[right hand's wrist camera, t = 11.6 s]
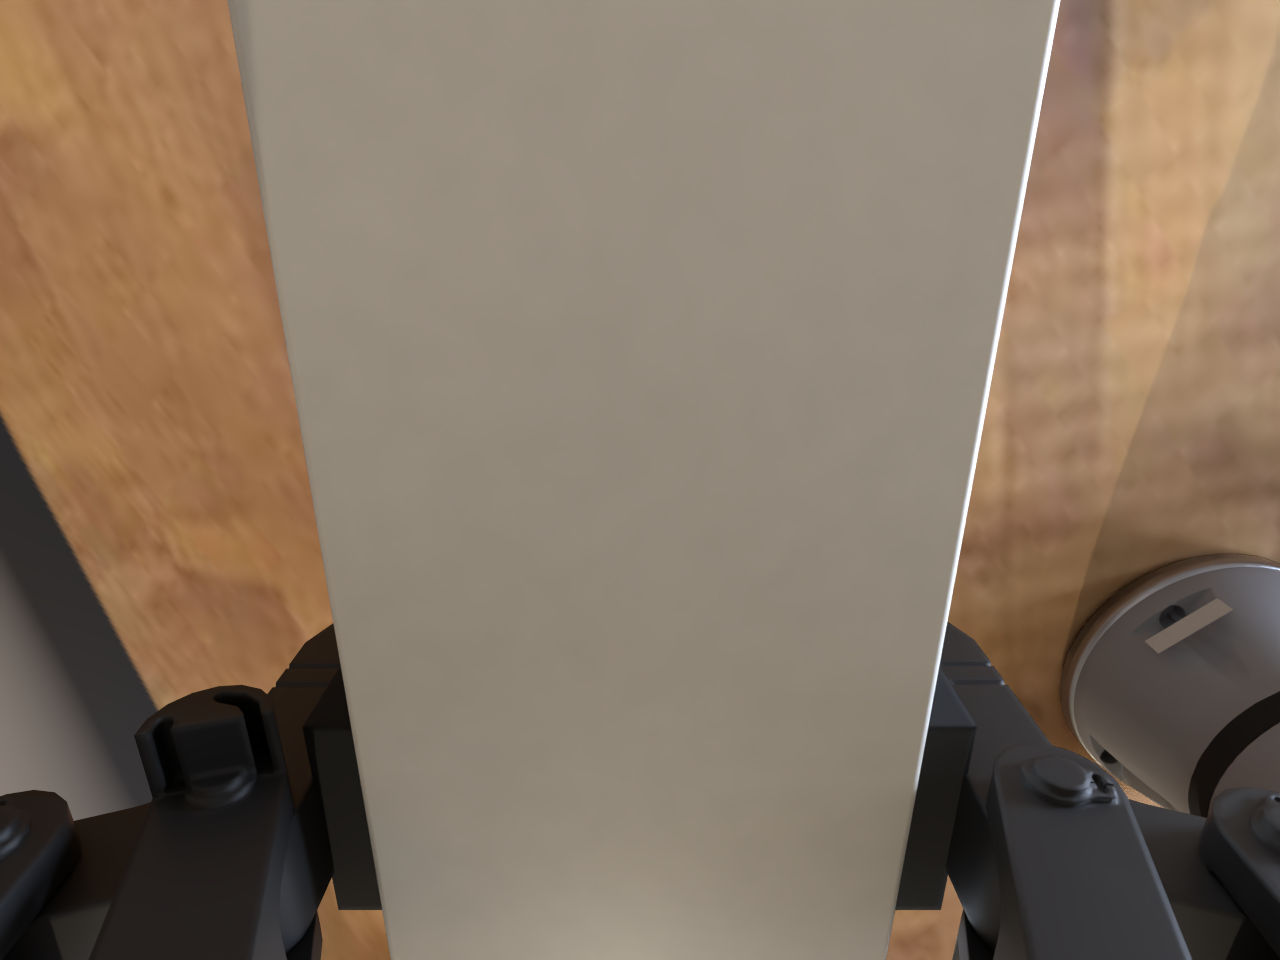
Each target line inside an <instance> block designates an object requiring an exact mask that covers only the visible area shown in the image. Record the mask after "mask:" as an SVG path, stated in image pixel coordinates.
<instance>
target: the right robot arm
mask: <svg viewBox="0 0 1280 960" xmlns="http://www.w3.org/2000/svg"><path fill="white" fill-rule="evenodd" d="M1060 700H1061V706H1062V711H1063V714H1064V717H1065V720H1066V722H1067V724H1068V726H1069V728H1070V729H1071V731H1072V733H1073V734H1074V735H1075V737H1076V738H1077V739H1078V740H1079V742H1080V743H1081V744H1082V746H1083V747H1084V748H1085V749H1086V751H1087V752H1088V753H1089V754H1090V755H1091V756H1092V758H1093V759H1095V760H1096V761H1097V762H1098V763H1099V764H1100V765H1101V766H1103V767H1104V768H1105V769H1106V770H1107V771H1108V772H1110V773H1111V774H1112V775H1114V776H1115V777H1117V778H1118V779H1120V780H1121V781H1123V782H1124V783H1126V784H1127V785H1129V786H1130V787H1132V788H1134V789H1135V790H1137V791H1138V792H1140V793H1141V794H1143V795H1145V796H1146V797H1148V798H1149V799H1151V800H1152V801H1154V802H1156V803H1157V804H1159V805H1160V806H1162V807H1163V808H1160V807H1156V806H1151V805H1147V804H1143V803H1140V802H1137V801H1133V800H1130V799H1128V798H1127V796H1126V794H1125V793H1124V791H1123V790H1122V788H1121V787H1120V785H1119V784H1118V782H1117V781H1116V780H1115V779H1114V778H1113V777H1112V776H1111V775H1109V774H1108V773H1107V772H1106V771H1104V770H1103V769H1102V768H1101V767H1100V766H1098V765H1097V764H1096V763H1094V762H1092V761H1090V760H1088V759H1086V758H1084V757H1082V756H1080V755H1078V754H1076V753H1074V752H1072V751H1069V750H1066V749H1062V748H1059V747H1055V746H1052V744H1051V743H1050V742H1049V740H1048V739H1047V738H1046V736H1045V735H1044V734H1043V732H1042V731H1041V730H1040V728H1039V727H1038V725H1037V724H1036V723H1035V721H1034V720H1033V719H1032V717H1031V716H1030V715H1029V713H1028V712H1027V711H1026V709H1025V708H1024V707H1023V705H1022V704H1021V703H1020V701H1019V700H1018V698H1017V697H1016V696H1015V694H1014V693H1013V692H1012V690H1011V689H1010V688H1009V686H1008V685H1004V680H1003V678H1002V677H1001V675H1000V674H999V673H998V671H997V670H996V669H995V667H994V666H991V664H990V661H989V659H988V658H987V657H986V655H985V654H984V652H983V651H982V650H981V648H980V647H979V646H978V644H977V643H976V642H975V640H973V639H972V638H971V637H969V636H968V635H966V634H965V633H963V632H962V631H960V630H959V629H957V628H956V627H955V626H953V625H952V624H950V623H949V622H947V626H946V632H945V637H944V643H943V648H942V654H941V659H940V665H939V670H938V676H937V681H936V687H935V692H934V698H933V703H932V709H931V714H930V720H929V725H928V731H927V736H926V742H925V747H924V753H923V758H922V764H921V769H920V775H919V780H918V786H917V791H916V797H915V802H914V808H913V813H912V819H911V825H910V830H909V836H908V841H907V847H906V852H905V858H904V863H903V869H902V874H901V880H900V885H899V891H898V896H897V902H896V907H895V910H941V906H942V901H943V896H944V891H945V886H946V881H947V876H948V875H949V877H950V880H951V882H952V884H953V886H954V888H955V891H956V893H957V895H958V897H959V900H960V902H961V904H962V906H963V912H962V917H961V922H960V926H959V931H958V936H957V940H956V945H955V950H954V954H953V959H952V960H1280V564H1279V563H1276V562H1274V561H1271V560H1268V559H1265V558H1261V557H1257V556H1251V555H1244V554H1214V555H1206V556H1200V557H1195V558H1190V559H1186V560H1183V561H1179V562H1176V563H1173V564H1170V565H1167V566H1165V567H1162V568H1160V569H1157V570H1155V571H1153V572H1151V573H1149V574H1147V575H1145V576H1143V577H1141V578H1139V579H1138V580H1136V581H1134V582H1133V583H1131V584H1130V585H1128V586H1126V587H1125V588H1123V589H1122V590H1121V591H1119V592H1118V593H1117V594H1115V595H1114V596H1113V597H1112V598H1110V599H1109V600H1108V601H1107V602H1106V603H1105V604H1104V605H1103V606H1101V607H1100V609H1099V610H1098V611H1097V612H1096V613H1095V614H1094V615H1093V616H1092V617H1091V618H1090V619H1089V621H1088V622H1087V623H1086V624H1085V626H1084V627H1083V628H1082V630H1081V631H1080V633H1079V634H1078V636H1077V637H1076V639H1075V641H1074V643H1073V644H1072V646H1071V648H1070V651H1069V653H1068V655H1067V657H1066V660H1065V664H1064V667H1063V671H1062V676H1061V683H1060ZM134 736H135V740H136V743H137V747H138V750H139V753H140V757H141V760H142V763H143V767H144V770H145V773H146V777H147V780H148V783H149V786H150V790H151V793H152V797H153V799H152V801H151V803H147V804H144V805H140V806H137V807H134V808H129V809H125V810H120V811H116V812H112V813H107V814H103V815H98V816H94V817H90V818H85V819H81V820H76V821H73V818H72V815H71V813H70V810H69V807H68V804H67V802H66V801H65V800H64V799H63V798H61V797H60V796H59V795H57V794H56V793H55V792H46V791H38V790H31V791H24V792H18V793H12V794H6V795H3V796H0V960H321V949H322V934H321V927H320V922H319V917H318V912H317V909H318V907H319V904H320V902H321V900H322V898H323V896H324V893H325V891H326V889H327V887H328V884H329V882H330V880H331V878H332V879H333V884H334V889H335V894H336V899H337V904H338V909H339V910H382V905H381V899H380V893H379V887H378V882H377V876H376V870H375V864H374V858H373V852H372V846H371V840H370V834H369V829H368V823H367V817H366V811H365V805H364V799H363V793H362V787H361V782H360V776H359V770H358V764H357V758H356V752H355V746H354V740H353V735H352V729H351V723H350V717H349V711H348V705H347V699H346V693H345V688H344V682H343V676H342V670H341V664H340V658H339V652H338V646H337V641H336V635H335V629H334V624H332V625H330V626H329V627H327V628H326V629H324V630H323V631H322V632H320V633H319V634H317V635H316V636H314V637H313V638H311V639H310V640H309V641H307V642H306V643H305V644H304V645H303V647H302V648H301V649H300V651H299V652H298V654H297V655H296V656H295V658H294V659H293V660H292V662H291V663H290V664H289V669H286V670H285V671H284V673H283V674H282V675H281V677H280V678H279V679H278V681H277V682H276V687H273V688H272V689H271V690H270V692H269V693H268V694H266V693H265V692H264V691H263V690H261V689H258V688H254V687H249V686H244V685H234V686H218V687H214V688H210V689H206V690H202V691H199V692H195V693H192V694H189V695H187V696H185V697H183V698H181V699H178V700H176V701H174V702H172V703H170V704H167V705H166V706H165V707H163V708H162V709H160V710H159V711H158V712H156V713H155V714H154V715H152V716H151V717H149V718H148V719H147V720H146V721H145V722H144V724H143V725H142V726H141V728H140V729H139V730H138V731H137V733H136V734H135V735H134Z"/></svg>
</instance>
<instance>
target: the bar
mask: <svg viewBox="0 0 1280 960" xmlns="http://www.w3.org/2000/svg"><path fill="white" fill-rule="evenodd" d="M1059 3H1060V0H228V6H229V12H230V18H231V23H232V29H233V35H234V41H235V47H236V53H237V59H238V65H239V70H240V76H241V82H242V88H243V94H244V100H245V106H246V112H247V117H248V123H249V129H250V135H251V141H252V147H253V153H254V159H255V164H256V170H257V176H258V182H259V188H260V194H261V200H262V206H263V211H264V217H265V223H266V229H267V235H268V241H269V247H270V253H271V258H272V264H273V270H274V276H275V282H276V288H277V294H278V300H279V306H280V311H281V317H282V323H283V329H284V335H285V341H286V347H287V353H288V358H289V364H290V370H291V376H292V382H293V388H294V394H295V400H296V405H297V411H298V417H299V423H300V429H301V435H302V441H303V447H304V452H305V458H306V464H307V470H308V476H309V482H310V488H311V494H312V499H313V505H314V511H315V517H316V523H317V529H318V535H319V541H320V546H321V552H322V558H323V564H324V570H325V576H326V582H327V588H328V594H329V599H330V605H331V611H332V617H333V623H334V629H335V635H336V641H337V646H338V652H339V658H340V664H341V670H342V676H343V682H344V688H345V693H346V699H347V705H348V711H349V717H350V723H351V729H352V735H353V740H354V746H355V752H356V758H357V764H358V770H359V776H360V782H361V787H362V793H363V799H364V805H365V811H366V817H367V823H368V829H369V834H370V840H371V846H372V852H373V858H374V864H375V870H376V876H377V882H378V887H379V893H380V899H381V905H382V911H383V917H384V923H385V929H386V934H387V940H388V946H389V952H390V958H391V960H886V957H887V951H888V946H889V940H890V935H891V929H892V924H893V918H894V913H895V907H896V902H897V896H898V891H899V885H900V880H901V874H902V869H903V863H904V858H905V852H906V847H907V841H908V836H909V830H910V825H911V819H912V813H913V808H914V802H915V797H916V791H917V786H918V780H919V775H920V769H921V764H922V758H923V753H924V747H925V742H926V736H927V731H928V725H929V720H930V714H931V709H932V703H933V698H934V692H935V687H936V681H937V676H938V670H939V665H940V659H941V654H942V648H943V643H944V637H945V632H946V626H947V621H948V615H949V610H950V604H951V599H952V593H953V588H954V582H955V577H956V571H957V565H958V560H959V554H960V549H961V543H962V538H963V532H964V527H965V521H966V516H967V510H968V505H969V499H970V494H971V488H972V483H973V477H974V472H975V466H976V461H977V455H978V450H979V444H980V439H981V433H982V428H983V422H984V417H985V411H986V406H987V400H988V395H989V389H990V384H991V378H992V373H993V367H994V362H995V356H996V351H997V345H998V340H999V334H1000V329H1001V323H1002V317H1003V312H1004V306H1005V301H1006V295H1007V290H1008V284H1009V279H1010V273H1011V268H1012V262H1013V257H1014V251H1015V246H1016V240H1017V235H1018V229H1019V224H1020V218H1021V213H1022V207H1023V202H1024V196H1025V191H1026V185H1027V180H1028V174H1029V169H1030V163H1031V158H1032V152H1033V147H1034V141H1035V136H1036V130H1037V125H1038V119H1039V114H1040V108H1041V103H1042V97H1043V92H1044V86H1045V80H1046V75H1047V69H1048V64H1049V58H1050V53H1051V47H1052V42H1053V36H1054V31H1055V25H1056V20H1057V14H1058V9H1059Z"/></svg>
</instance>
